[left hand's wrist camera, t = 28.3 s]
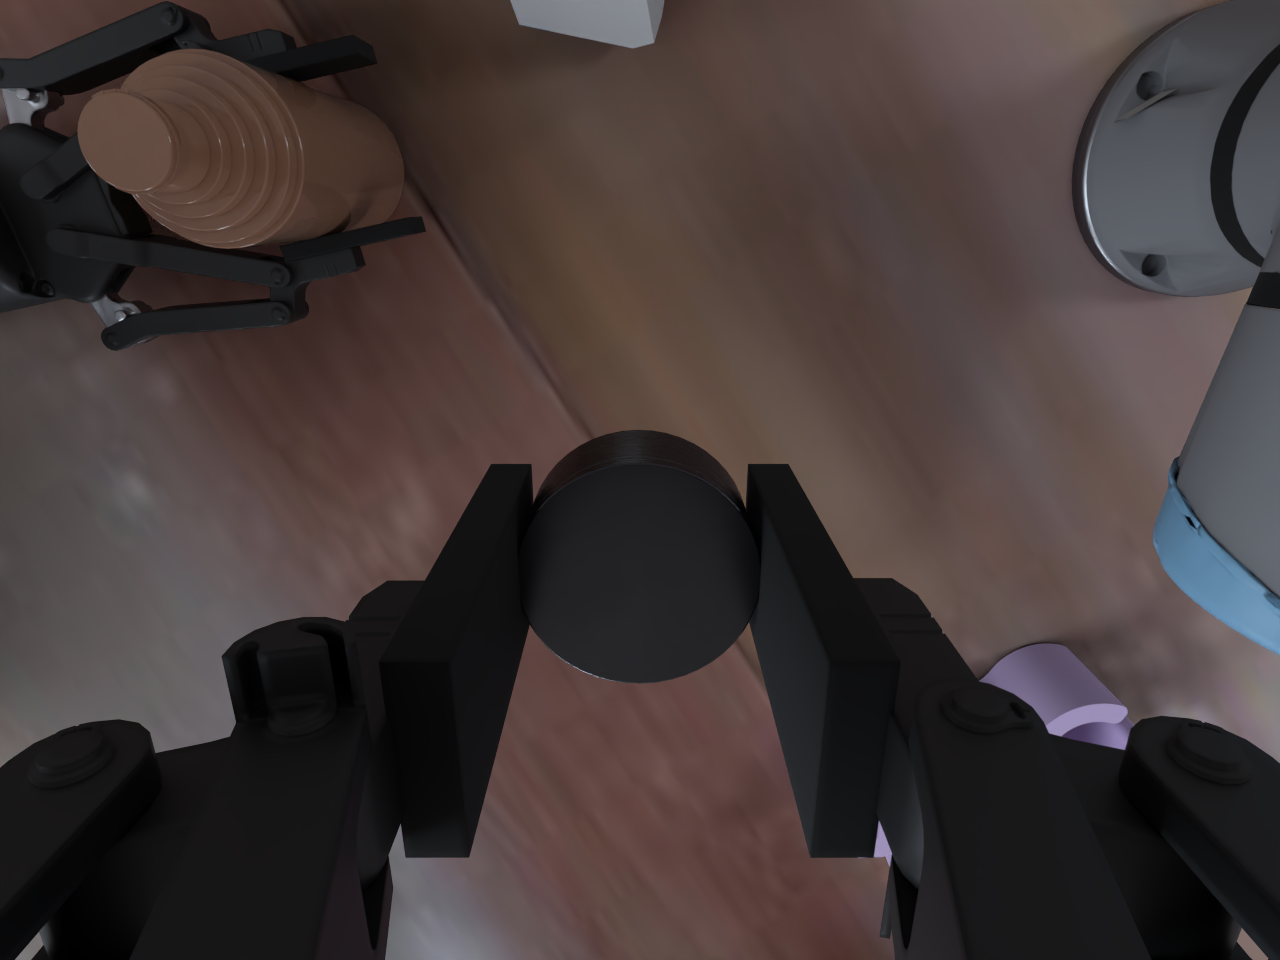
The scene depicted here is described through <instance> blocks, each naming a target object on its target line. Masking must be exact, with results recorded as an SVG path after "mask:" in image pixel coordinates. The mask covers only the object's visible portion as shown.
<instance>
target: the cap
mask: <svg viewBox="0 0 1280 960" xmlns="http://www.w3.org/2000/svg"><path fill="white" fill-rule="evenodd" d="M518 568H519V585H520V600H521V607H522V610H523V612H524V614H525V616H526V618H527V620H528V622H529V624H530V625H531V627H532V628H533V630H534V632H535V633H536V635H537V636H538V637H539V638H540V639H541V640H542V642H543V643H544V644H545V645H546V646H547V647H548V648H549V649H550V650H551V651H552V652H553V653H555V654H556V655H557V656H558V657H560V658H561V659H562V660H564V661H565V662H567V663H568V664H570V665H572V666H573V667H575V668H577V669H579V670H581V671H583V672H586V673H588V674H591V675H593V676H596V677H599V678H603V679H607V680H610V681H617V682H623V683H654V682H661V681H666V680H671V679H675V678H678V677H681V676H684V675H687V674H689V673H692V672H694V671H696V670H698V669H700V668H702V667H704V666H706V665H707V664H709V663H711V662H712V661H714V660H715V659H716V658H718V657H719V656H720V655H722V654H723V653H724V652H725V651H726V650H727V649H728V648H729V647H730V646H731V645H732V644H733V643H734V642H735V641H736V640H737V639H738V637H739V636H740V635H741V633H742V632H743V631H744V629H745V628H746V626H747V624H748V622H749V621H750V619H751V617H752V615H753V612H754V610H755V608H756V605H757V602H758V598H759V590H760V574H761V556H760V551H759V546H758V543H757V540H756V538H755V535H754V532H753V529H752V526H751V523H750V520H749V517H748V515H747V512H746V509H745V506H744V503H743V500H742V497H741V495H740V492H739V490H738V488H737V486H736V484H735V482H734V481H733V479H732V478H731V477H730V475H729V474H728V472H727V471H726V470H725V469H724V467H723V466H722V465H721V464H720V463H719V462H718V461H717V460H716V459H715V458H714V457H712V456H711V455H710V454H709V453H707V452H706V451H705V450H703V449H702V448H700V447H698V446H697V445H695V444H694V443H691V442H689V441H687V440H685V439H683V438H680V437H677V436H674V435H671V434H667V433H663V432H657V431H650V430H629V431H620V432H615V433H610V434H606V435H603V436H600V437H598V438H595V439H592V440H590V441H588V442H586V443H584V444H582V445H580V446H579V447H577V448H576V449H574V450H573V451H571V452H570V453H568V454H567V455H566V456H565V457H564V458H563V459H562V460H560V461H559V462H558V463H557V464H556V466H555V467H554V468H553V469H552V470H551V471H550V473H549V474H548V475H547V477H546V479H545V480H544V482H543V483H542V485H541V487H540V489H539V491H538V493H537V496H536V498H535V501H534V504H533V507H532V509H531V512H530V515H529V518H528V521H527V524H526V527H525V529H524V532H523V535H522V538H521V542H520V545H519V548H518Z"/></svg>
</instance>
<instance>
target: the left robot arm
mask: <svg viewBox="0 0 1280 960" xmlns="http://www.w3.org/2000/svg"><path fill="white" fill-rule="evenodd" d="M1072 197H1073V207H1074V211H1075V216H1076V220H1077V223H1078V226H1079V229H1080V232H1081V234H1082V237H1083V239H1084V241H1085V243H1086V245H1087V246H1088V248H1089V250H1090V251H1091V253H1092V254H1093V255H1094V257H1095V258H1096V259H1097V260H1098V262H1099V263H1100V264H1101V265H1102V266H1103V267H1104V268H1105V269H1106V270H1108V271H1109V272H1110V273H1111V274H1113V275H1114V276H1115V277H1117V278H1118V279H1120V280H1122V281H1123V282H1125V283H1127V284H1129V285H1132V286H1134V287H1136V288H1139V289H1142V290H1146V291H1150V292H1155V293H1160V294H1166V295H1172V296H1182V297H1198V296H1211V295H1219V294H1225V293H1230V292H1235V291H1238V290H1242V289H1246V288H1249V287H1253V289H1252V291H1251V294H1250V296H1249V298H1248V301H1247V302H1246V304H1245V305H1244V308H1243V310H1242V312H1241V315H1240V317H1239V319H1238V322H1237V324H1236V326H1235V329H1234V331H1233V333H1232V336H1231V338H1230V340H1229V343H1228V345H1227V347H1226V350H1225V352H1224V354H1223V357H1222V359H1221V361H1220V364H1219V366H1218V368H1217V371H1216V373H1215V375H1214V378H1213V380H1212V382H1211V385H1210V387H1209V389H1208V392H1207V394H1206V396H1205V399H1204V401H1203V403H1202V406H1201V408H1200V410H1199V412H1198V415H1197V417H1196V419H1195V422H1194V424H1193V426H1192V429H1191V431H1190V433H1189V436H1188V438H1187V440H1186V443H1185V445H1184V447H1183V450H1182V452H1181V454H1180V456H1179V457H1177V458H1175V459H1174V460H1173V463H1172V465H1171V467H1170V469H1169V474H1168V481H1169V487H1168V490H1167V493H1166V495H1165V498H1164V501H1163V504H1162V506H1161V509H1160V512H1159V514H1158V517H1157V520H1156V523H1155V526H1154V532H1153V542H1154V546H1155V549H1156V551H1157V553H1158V555H1159V557H1160V562H1161V564H1162V566H1163V568H1164V570H1165V571H1166V572H1167V574H1168V575H1169V576H1170V578H1171V579H1172V580H1173V581H1174V582H1175V583H1176V584H1177V585H1178V586H1179V587H1180V588H1181V589H1182V590H1183V591H1184V592H1185V593H1186V594H1187V595H1188V596H1189V597H1190V598H1191V599H1192V600H1194V601H1195V602H1196V603H1197V604H1198V605H1200V606H1201V607H1202V608H1204V609H1205V610H1206V611H1208V612H1209V613H1210V614H1212V615H1213V616H1214V617H1216V618H1217V619H1219V620H1220V621H1222V622H1223V623H1225V624H1226V625H1228V626H1229V627H1231V628H1233V629H1234V630H1236V631H1237V632H1239V633H1241V634H1242V635H1244V636H1245V637H1247V638H1249V639H1251V640H1252V641H1254V642H1256V643H1258V644H1259V645H1261V646H1263V647H1265V648H1267V649H1269V650H1271V651H1272V652H1274V653H1276V654H1278V655H1280V310H1277V309H1280V0H1231V1H1227V2H1223V3H1220V4H1217V5H1214V6H1211V7H1209V8H1206V9H1203V10H1200V11H1197V12H1194V13H1191V14H1189V15H1187V16H1184V17H1182V18H1180V19H1178V20H1176V21H1174V22H1173V23H1171V24H1169V25H1167V26H1165V27H1164V28H1162V29H1161V30H1159V31H1158V32H1156V33H1155V34H1154V35H1152V36H1151V37H1150V38H1148V39H1147V40H1146V41H1145V42H1143V43H1142V44H1141V45H1140V46H1139V47H1137V48H1136V49H1135V50H1134V51H1133V52H1132V53H1131V54H1130V55H1129V56H1128V57H1127V58H1126V59H1125V60H1124V61H1123V63H1122V64H1121V65H1120V66H1119V67H1118V68H1117V69H1116V71H1115V72H1114V73H1113V74H1112V76H1111V77H1110V78H1109V80H1108V81H1107V82H1106V84H1105V85H1104V87H1103V89H1102V90H1101V92H1100V93H1099V95H1098V96H1097V98H1096V100H1095V102H1094V104H1093V106H1092V107H1091V109H1090V112H1089V114H1088V116H1087V118H1086V121H1085V123H1084V126H1083V128H1082V131H1081V134H1080V137H1079V141H1078V144H1077V148H1076V152H1075V158H1074V164H1073V173H1072ZM1253 305H1254V306H1253ZM1259 306H1261V307H1259ZM1265 307H1268V308H1265ZM1271 308H1276V309H1271ZM532 507H533V486H532V466H531V464H491V465H490V467H489V469H488V471H487V472H486V474H485V476H484V478H483V479H482V481H481V483H480V485H479V486H478V488H477V490H476V492H475V493H474V495H473V497H472V499H471V501H470V502H469V504H468V506H467V508H466V509H465V511H464V513H463V515H462V516H461V518H460V520H459V522H458V523H457V525H456V527H455V529H454V530H453V532H452V534H451V536H450V537H449V539H448V541H447V543H446V544H445V546H444V548H443V550H442V552H441V553H440V555H439V557H438V559H437V560H436V562H435V564H434V566H433V567H432V569H431V571H430V573H429V574H428V576H427V578H426V580H425V581H386V582H385V583H383V584H382V585H380V586H379V587H377V588H376V589H374V590H373V591H371V592H370V593H368V594H367V595H365V596H364V597H362V599H361V600H360V602H359V603H358V604H357V606H356V607H355V609H354V610H353V611H352V613H351V614H350V616H349V620H346V621H345V622H344V621H340V620H336V619H332V618H328V617H302V618H296V619H291V620H286V621H280V622H276V623H274V624H271V625H268V626H265V627H263V628H260V629H257V630H254V631H252V632H251V633H249V634H247V635H246V636H244V637H243V638H241V639H239V640H238V641H236V642H234V643H233V644H232V645H231V646H230V648H229V649H228V650H227V651H226V652H225V653H224V654H223V655H222V660H223V665H224V669H225V674H226V678H227V683H228V687H229V692H230V696H231V701H232V705H233V710H234V714H235V719H236V725H235V727H234V729H233V731H232V733H231V736H230V737H227V738H223V739H220V740H216V741H212V742H208V743H203V744H198V745H193V746H188V747H183V748H179V749H174V750H169V751H164V752H159V753H155V750H154V746H153V742H152V739H151V735H150V732H149V731H148V730H147V729H145V728H144V727H143V726H142V725H141V724H139V723H136V722H131V721H125V720H119V719H118V720H107V721H97V722H89V723H85V724H80V725H79V726H73V727H70V728H67V729H64V730H61V731H59V732H57V733H56V734H54V735H51V736H49V737H47V738H45V739H43V740H40V741H38V742H36V743H34V744H32V745H31V746H29V747H28V748H26V749H25V750H24V751H22V752H21V753H19V754H18V755H16V756H15V757H13V758H12V759H10V760H9V761H8V762H7V763H5V764H4V765H3V766H2V767H1V768H0V960H15V959H16V958H17V956H18V955H19V954H20V953H21V952H22V951H23V949H24V948H25V947H26V946H27V945H28V944H29V942H30V941H31V940H32V939H33V938H34V937H35V936H36V934H37V933H38V932H39V933H40V936H41V938H42V941H43V944H44V945H43V946H42V948H41V949H40V950H39V951H38V952H37V954H36V955H35V956H34V957H33V958H32V960H385V954H386V946H387V937H388V928H389V919H390V911H391V902H392V893H393V884H392V877H391V870H390V863H389V856H388V855H389V852H390V850H391V847H392V844H393V842H394V839H395V837H396V834H397V831H398V829H399V826H400V824H401V828H402V835H403V842H404V849H405V856H406V858H432V857H469V856H470V852H471V848H472V844H473V840H474V836H475V833H476V829H477V825H478V821H479V817H480V813H481V810H482V806H483V802H484V798H485V794H486V790H487V786H488V783H489V779H490V775H491V771H492V767H493V763H494V760H495V756H496V752H497V748H498V744H499V740H500V737H501V733H502V729H503V725H504V721H505V717H506V714H507V710H508V706H509V702H510V698H511V694H512V691H513V687H514V683H515V679H516V675H517V671H518V667H519V664H520V660H521V656H522V652H523V648H524V644H525V641H526V637H527V633H528V629H529V625H530V624H529V622H528V620H527V618H526V616H525V614H524V612H523V610H522V607H521V600H520V585H519V568H518V548H519V545H520V542H521V538H522V535H523V532H524V529H525V527H526V524H527V521H528V518H529V515H530V512H531V509H532ZM746 512H747V515H748V517H749V520H750V523H751V526H752V529H753V532H754V535H755V538H756V540H757V543H758V546H759V551H760V556H761V574H760V590H759V598H758V602H757V605H756V608H755V610H754V612H753V615H752V617H751V619H750V621H749V623H750V627H751V631H752V635H753V639H754V643H755V646H756V650H757V654H758V658H759V662H760V666H761V669H762V673H763V677H764V681H765V685H766V689H767V692H768V696H769V700H770V704H771V708H772V712H773V715H774V719H775V723H776V727H777V731H778V735H779V739H780V742H781V746H782V750H783V754H784V758H785V762H786V765H787V769H788V773H789V777H790V781H791V785H792V788H793V792H794V796H795V800H796V804H797V808H798V811H799V815H800V819H801V823H802V827H803V831H804V835H805V838H806V842H807V846H808V850H809V854H810V858H874V853H875V846H876V838H877V831H878V824H879V821H880V824H881V826H882V829H883V832H884V834H885V837H886V839H887V842H888V844H889V847H890V850H891V852H892V856H891V863H890V870H889V876H888V883H887V890H886V897H885V903H884V910H883V917H882V924H881V931H880V937H884V938H889V939H890V934H891V929H892V935H893V944H894V953H895V960H1252V959H1251V958H1250V957H1249V956H1248V955H1247V953H1246V952H1245V951H1244V950H1243V949H1242V947H1241V946H1240V945H1239V944H1238V943H1237V939H1238V936H1239V934H1240V931H1241V928H1243V929H1244V931H1245V932H1246V933H1247V934H1248V935H1249V936H1250V938H1251V939H1252V940H1253V941H1254V942H1255V943H1256V944H1257V946H1258V947H1259V948H1260V949H1261V950H1262V951H1263V953H1264V954H1265V955H1266V956H1267V957H1268V958H1269V959H1268V960H1280V763H1278V762H1277V761H1276V760H1275V759H1274V758H1273V757H1271V756H1270V755H1268V754H1267V753H1265V752H1264V751H1262V750H1261V749H1259V748H1258V747H1256V746H1255V745H1253V744H1252V743H1251V742H1249V741H1248V740H1246V739H1244V738H1241V737H1239V736H1237V735H1235V734H1233V733H1230V732H1228V731H1226V730H1224V729H1223V728H1221V727H1219V726H1216V725H1213V724H1209V723H1206V722H1205V723H1202V722H1201V721H1199V720H1194V719H1189V718H1178V717H1168V716H1158V717H1153V718H1147V719H1142V720H1140V721H1139V722H1138V723H1137V724H1136V725H1134V726H1133V727H1132V728H1131V729H1130V733H1129V736H1128V740H1127V744H1126V747H1125V750H1123V749H1118V748H1113V747H1108V746H1103V745H1098V744H1093V743H1088V742H1083V741H1078V740H1073V739H1069V738H1065V737H1061V736H1058V735H1054V734H1050V733H1049V732H1048V730H1047V728H1046V726H1045V723H1044V721H1043V720H1042V719H1041V718H1040V716H1039V715H1038V714H1037V712H1036V711H1035V710H1034V708H1033V707H1032V706H1030V705H1029V704H1028V703H1026V702H1025V701H1023V700H1022V699H1021V698H1019V697H1018V696H1016V695H1015V694H1013V693H1011V692H1009V691H1006V690H1004V689H1001V688H999V687H997V686H994V685H992V684H989V683H984V682H980V681H978V680H977V678H976V677H975V675H974V674H973V673H972V671H971V670H970V668H969V667H968V666H967V664H966V663H965V661H964V660H963V659H962V657H961V656H960V654H959V653H958V651H957V650H956V649H955V647H954V646H953V644H952V643H951V642H950V640H949V639H948V637H947V636H946V635H945V634H942V629H941V627H940V626H939V625H938V623H937V622H936V620H935V619H934V618H931V613H930V612H929V611H928V609H927V608H926V606H925V605H924V603H923V602H922V601H921V599H920V598H919V596H918V595H917V594H915V593H914V592H912V591H911V590H909V589H908V588H906V587H905V586H903V585H902V584H900V583H899V582H897V581H896V580H894V579H892V578H853V577H852V575H851V574H850V572H849V570H848V568H847V567H846V565H845V563H844V561H843V560H842V558H841V556H840V554H839V552H838V551H837V549H836V547H835V545H834V544H833V542H832V540H831V538H830V537H829V535H828V533H827V531H826V530H825V528H824V526H823V524H822V523H821V521H820V519H819V517H818V516H817V514H816V512H815V510H814V508H813V507H812V505H811V503H810V501H809V500H808V498H807V496H806V494H805V493H804V491H803V489H802V487H801V486H800V484H799V482H798V480H797V479H796V477H795V475H794V473H793V472H792V470H791V468H790V466H789V465H788V464H748V476H747V495H746Z"/></svg>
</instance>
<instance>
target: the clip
mask: <svg viewBox="0 0 1280 960" xmlns="http://www.w3.org/2000/svg"><path fill="white" fill-rule="evenodd" d="M980 682H984V683H989V684H992V685H994V686H997V687H999V688H1001V689H1004V690H1006V691H1009V692H1011V693H1013V694H1015V695H1016V696H1018V697H1019V698H1021V699H1022V700H1023V701H1025V702H1026V703H1028V704H1029V705H1030V706H1032V707H1033V708H1034V710H1035V711H1036V712H1037V714H1038V715H1039V716H1040V718H1041V719H1042V720H1043V721H1044V723H1045V726H1046V728H1047V730H1048V732H1049V733H1050V734H1054V735H1058V736H1061V737H1065V738H1069V739H1073V740H1078V741H1083V742H1088V743H1093V744H1098V745H1103V746H1108V747H1113V748H1118V749H1123V750H1125V747H1126V744H1127V740H1128V736H1129V733H1130V729H1131V728H1132V727H1133V726H1134V724H1133V723H1132V722H1131V721H1130V719H1129V718H1128V717H1127V716H1126V715H1127V712H1128V711H1127V708H1126V707H1125V706H1124V705H1123V704H1122V703H1121V702H1120V701H1119V700H1118V699H1117V698H1116V697H1115V696H1114V695H1113V694H1112V693H1111V692H1110V691H1109V690H1108V689H1107V688H1106V687H1105V686H1104V685H1103V684H1102V683H1101V682H1100V681H1099V680H1098V679H1097V678H1096V677H1095V676H1094V675H1093V674H1092V673H1091V672H1090V671H1089V670H1088V669H1087V668H1086V667H1085V665H1084V664H1083V663H1082V662H1081V661H1080V660H1079V659H1078V658H1077V657H1076V656H1075V655H1074V654H1073V653H1072V652H1071V651H1070V650H1069V649H1068V648H1067V647H1066V646H1063V645H1059V644H1051V643H1044V644H1035V645H1030V646H1026V647H1024V648H1021V649H1018V650H1016V651H1014V652H1012V653H1010V654H1009V655H1007V656H1006V657H1004V658H1003V659H1001V660H1000V661H999V662H998V663H997V664H996V665H995V666H994V667H993V668H992V669H991V670H990V672H989V673H988V674H987V675H986V676H985V677H984V678H982V679H981V680H980ZM884 856H886V859H887V861H888V864H889V866H890V863H891V856H892V852H891V850H890V847H889V844H888V842H887V839H886V837H885V834H884V832H883V829H882V826H881V824H880V821H879V824H878V831H877V838H876V846H875V853H874V857H884Z"/></svg>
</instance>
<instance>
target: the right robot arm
mask: <svg viewBox="0 0 1280 960" xmlns="http://www.w3.org/2000/svg"><path fill="white" fill-rule="evenodd" d="M180 49H205V50H210V51H215V52H219V53H221V54H224V55H227V56H230V57H233V58H235V59H238V60H241V61H244V62H246V63H249V64H252V65H255V66H257V67H260V68H263V69H265V70H268V71H271V72H274V73H276V74H279V75H282V76H285V77H287V78H290V79H293V80H296V81H298V82H301V81H305V80H310V79H314V78H318V77H322V76H327V75H331V74H335V73H339V72H344V71H348V70H352V69H356V68H360V67H365V66H369V65H373V64H377V61H376V57H375V54H374V50H373V47H372V46H371V45H369V44H368V43H366V42H364V41H363V40H361V39H359V38H358V37H356V36H354V35H350V36H346V37H342V38H337V39H333V40H329V41H325V42H321V43H316V44H312V45H308V46H304V47H300V48H296V45H295V42H294V39H293V37H291V36H289V35H287V34H285V33H283V32H281V31H277V30H272V29H265V30H261V31H257V32H253V33H249V34H245V35H240V36H236V37H232V38H228V39H224V40H219V41H218V40H217V39H216V37H215V36H214V35H213V33H212V32H211V28H210V25H209V23H208V21H207V20H206V19H205V18H204V17H203V16H201V15H199V14H197V13H195V12H193V11H190V10H188V9H186V8H183V7H181V6H179V5H176V4H174V3H172V2H168V1H165V2H161V3H159V4H156V5H154V6H152V7H149V8H147V9H144V10H142V11H140V12H137V13H135V14H133V15H130V16H128V17H126V18H123V19H121V20H119V21H116V22H114V23H112V24H109V25H107V26H105V27H102V28H100V29H98V30H95V31H93V32H91V33H88V34H86V35H84V36H81V37H79V38H77V39H74V40H72V41H69V42H67V43H65V44H62V45H60V46H58V47H55V48H53V49H51V50H48V51H46V52H44V53H41V54H39V55H37V56H34V57H32V58H30V59H7V58H0V88H1V90H2V94H3V98H4V103H5V107H6V111H7V115H8V119H9V123H10V124H8V125H6V126H4V127H3V128H2V129H1V130H0V313H2V312H6V311H11V310H15V309H20V308H24V307H29V306H33V305H38V304H42V303H47V302H51V301H56V300H60V299H65V298H66V299H73V300H76V301H79V302H84V303H90V304H91V305H92V307H93V308H94V310H95V311H96V313H97V314H98V316H99V317H100V318H101V320H102V321H103V323H104V324H105V326H106V327H107V328H105V329H104V330H103V331H102V334H101V339H102V341H103V343H104V345H105V346H106V347H107V348H109V349H111V350H116V351H117V350H121V349H124V348H128V347H131V346H135V345H138V344H142V343H145V342H149V341H151V340H153V339H155V338H157V337H159V336H161V335H169V334H182V333H195V332H208V331H221V330H235V329H248V328H261V327H274V326H282V325H286V324H289V323H292V322H294V321H297V320H300V319H303V318H305V317H306V316H307V315H308V312H309V306H308V304H307V302H306V301H305V290H306V287H307V285H308V284H309V283H310V282H311V281H314V280H319V279H323V278H328V277H333V276H337V275H342V274H346V273H350V272H354V271H358V270H359V269H361V268H362V267H363V266H365V265H366V264H365V261H364V258H363V255H362V251H361V248H360V246H363V245H367V244H372V243H376V242H381V241H385V240H390V239H394V238H399V237H403V236H408V235H412V234H417V233H421V232H426V230H425V226H424V223H423V219H422V217H409V218H403V219H399V220H394V221H390V222H385V223H381V224H376V225H372V226H367V227H363V228H358V229H354V230H349V231H345V232H340V233H336V234H331V235H327V236H322V237H318V238H313V239H309V240H304V241H300V242H295V243H291V244H286V245H282V246H280V248H281V251H282V254H283V257H279V256H273V255H267V254H261V253H255V252H249V251H243V250H237V249H224V248H214V247H209V246H204V245H201V244H198V243H195V242H190V241H184V240H178V239H176V238H173V237H168V236H162V235H156V234H150V233H152V232H153V231H152V229H151V226H150V224H149V221H148V219H147V217H146V215H145V214H144V212H143V211H142V210H141V208H140V207H139V205H138V204H137V202H136V200H135V198H134V197H133V195H132V194H129V193H127V192H124V191H122V190H119V189H116V188H115V187H114V186H112V185H110V184H109V183H107V182H106V181H104V180H103V179H102V178H101V177H99V176H98V175H97V174H96V173H95V172H94V170H93V169H92V168H91V167H90V165H89V164H88V163H87V161H86V159H85V157H84V156H83V153H82V151H81V148H80V145H79V140H78V132H77V133H75V134H74V135H73V136H72V137H71V138H69V137H66V136H64V135H62V134H60V133H57V132H55V131H53V130H50V129H48V128H46V127H45V126H44V119H45V116H46V115H47V114H48V113H49V112H53V111H56V110H57V109H58V108H59V107H60V106H62V105H64V98H63V96H62V95H73V94H78V93H82V92H85V91H88V90H91V89H93V88H95V87H98V86H100V85H102V84H105V83H107V82H110V81H112V80H114V79H117V78H119V77H122V76H124V75H126V74H129V73H131V72H133V71H134V70H136V69H137V68H138V67H139V66H140V65H142V64H144V63H145V62H147V61H148V60H151V59H153V58H155V57H158V56H160V55H163V54H165V53H167V52H171V51H176V50H180ZM136 266H142V267H155V268H162V269H168V270H174V271H180V272H186V273H192V274H198V275H204V276H210V277H216V278H222V279H228V280H234V281H240V282H246V283H252V284H258V285H264V286H270V298H267V299H254V300H241V301H228V302H215V303H202V304H189V305H177V306H169V307H165V308H160V309H156V310H153V309H152V307H151V306H150V305H148V304H146V303H144V302H142V301H139V300H134V301H126V300H124V299H122V298H121V297H120V296H119V295H118V294H117V293H118V292H119V291H120V289H121V288H122V286H123V285H124V283H125V282H126V280H127V279H128V277H129V276H130V274H131V273H132V271H133V270H134V268H135V267H136Z"/></svg>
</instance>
